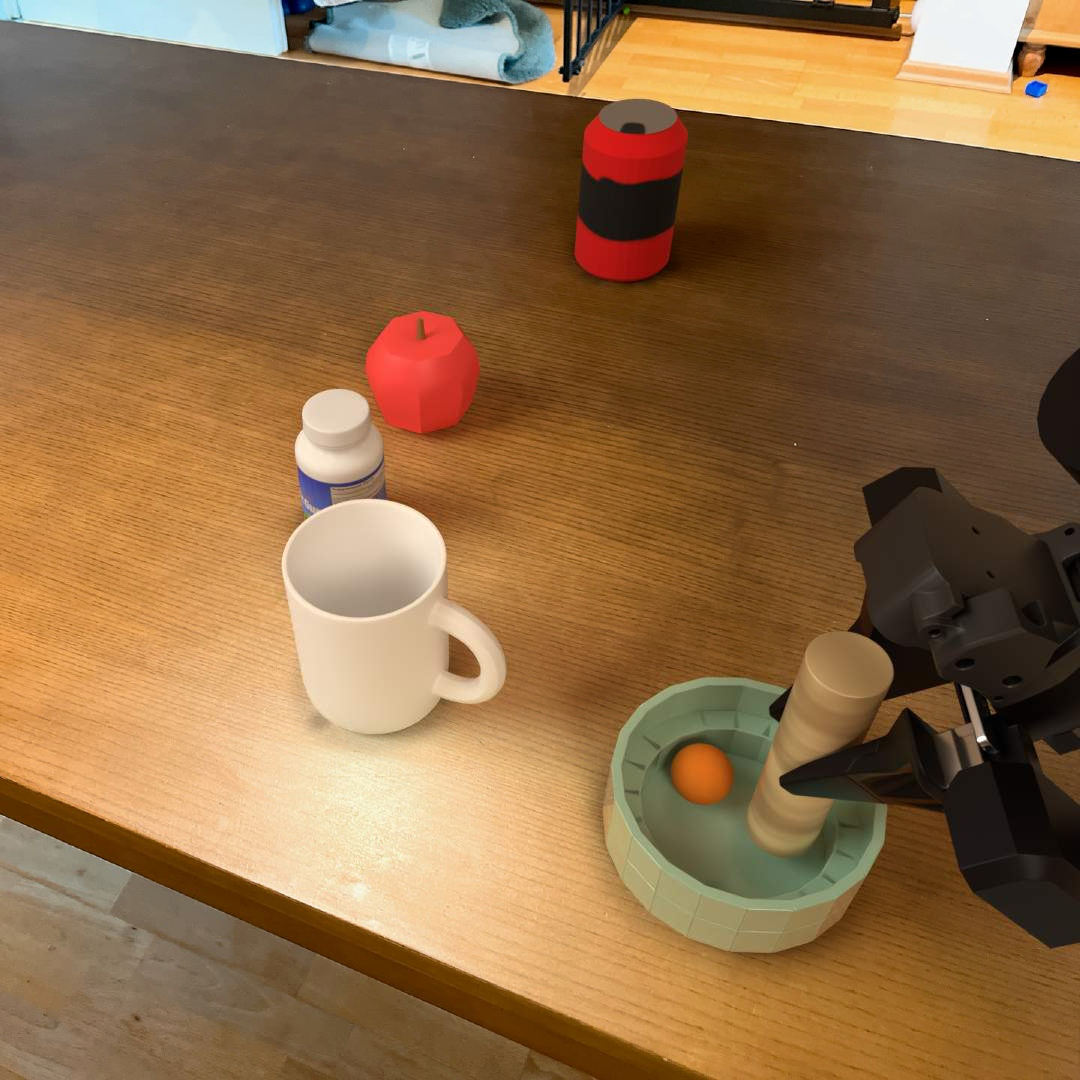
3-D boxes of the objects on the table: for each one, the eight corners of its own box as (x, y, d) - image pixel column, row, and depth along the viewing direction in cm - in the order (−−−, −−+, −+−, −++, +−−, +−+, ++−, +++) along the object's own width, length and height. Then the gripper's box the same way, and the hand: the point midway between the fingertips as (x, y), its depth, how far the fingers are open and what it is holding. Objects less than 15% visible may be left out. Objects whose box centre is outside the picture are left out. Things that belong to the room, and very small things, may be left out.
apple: (345, 412, 77) (335, 319, 71) (427, 363, 80) (424, 270, 74) (420, 466, 73) (415, 372, 67) (503, 412, 76) (506, 318, 70)
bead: (732, 773, 55) (743, 741, 52) (723, 824, 53) (734, 792, 50) (673, 756, 55) (681, 724, 53) (661, 805, 54) (669, 774, 51)
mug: (534, 679, 60) (544, 555, 52) (466, 794, 55) (466, 677, 48) (352, 602, 65) (337, 479, 57) (276, 702, 60) (248, 582, 53)
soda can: (567, 278, 86) (577, 136, 78) (582, 229, 91) (594, 90, 82) (663, 288, 84) (685, 144, 76) (673, 237, 89) (695, 96, 80)
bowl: (866, 770, 55) (895, 715, 51) (844, 995, 47) (876, 950, 44) (630, 706, 58) (641, 651, 55) (576, 906, 51) (585, 857, 47)
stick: (763, 785, 52) (826, 617, 43) (827, 821, 51) (907, 655, 41) (732, 833, 51) (791, 670, 41) (798, 872, 49) (874, 711, 40)
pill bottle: (295, 510, 71) (275, 395, 63) (371, 486, 72) (360, 370, 64) (322, 566, 67) (304, 451, 60) (402, 540, 68) (394, 423, 61)
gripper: (991, 296, 39) (648, 498, 49) (1185, 727, 27) (672, 883, 36) (1132, 461, 44) (792, 616, 54) (1353, 895, 31) (857, 995, 41)
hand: (779, 750), depth 46 cm, fingers closed on stick, 3 cm apart
